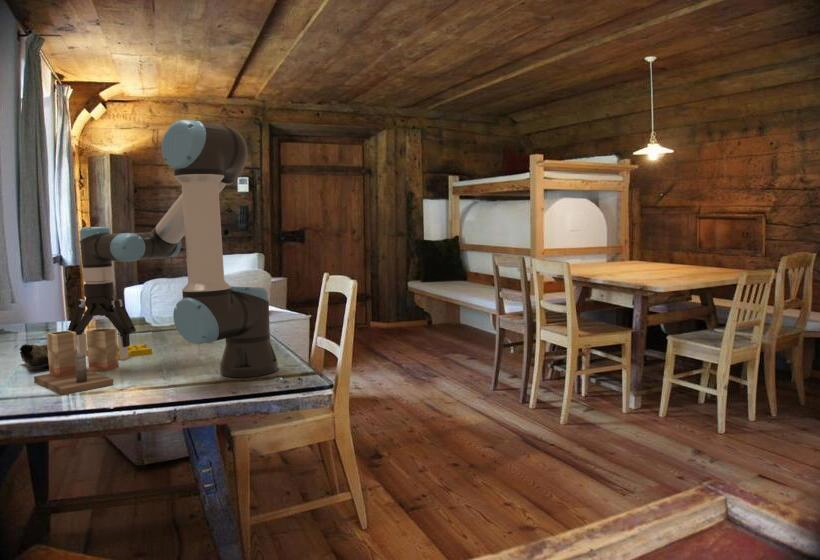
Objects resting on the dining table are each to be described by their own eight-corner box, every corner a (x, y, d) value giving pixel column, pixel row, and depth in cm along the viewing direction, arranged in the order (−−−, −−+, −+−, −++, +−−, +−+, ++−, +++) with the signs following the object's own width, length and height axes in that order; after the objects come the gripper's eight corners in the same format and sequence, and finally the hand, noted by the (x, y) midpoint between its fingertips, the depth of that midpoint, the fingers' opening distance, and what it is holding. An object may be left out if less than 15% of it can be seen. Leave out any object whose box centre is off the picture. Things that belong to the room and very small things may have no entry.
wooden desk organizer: (113, 384, 160) (110, 335, 159) (62, 395, 152) (58, 343, 150) (83, 373, 174) (79, 328, 173) (34, 382, 165) (30, 334, 164)
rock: (30, 386, 176) (89, 371, 184) (22, 354, 173) (82, 340, 181) (22, 364, 190) (77, 350, 198) (15, 334, 186) (71, 322, 195)
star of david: (155, 358, 194) (155, 350, 194) (92, 366, 185) (91, 358, 185) (143, 348, 211) (143, 341, 211) (85, 354, 202) (85, 347, 202)
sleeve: (118, 366, 181) (116, 328, 180) (105, 371, 176) (103, 332, 175) (102, 366, 182) (99, 328, 181) (89, 370, 177) (86, 331, 176)
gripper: (146, 280, 178) (150, 355, 180) (70, 281, 183) (75, 353, 185) (128, 283, 170) (133, 361, 172) (50, 283, 176) (55, 359, 178)
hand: (103, 357), depth 179 cm, fingers open, 13 cm apart
